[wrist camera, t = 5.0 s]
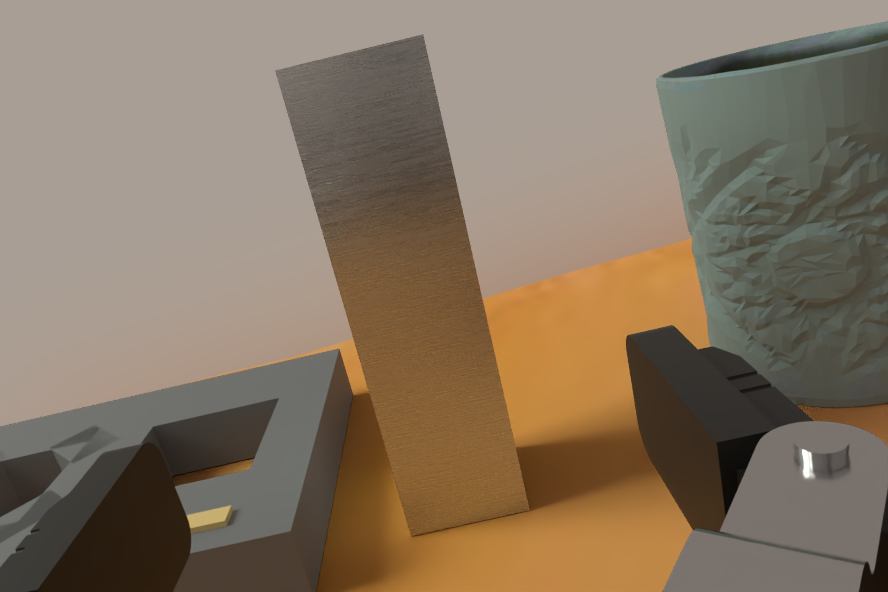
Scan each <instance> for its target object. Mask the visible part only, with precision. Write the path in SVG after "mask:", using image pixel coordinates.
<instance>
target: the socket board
mask: <svg viewBox="0 0 888 592" xmlns="http://www.w3.org/2000/svg"><path fill="white" fill-rule="evenodd" d="M352 397H353V393H352V390H351V386H350V383H349V380H348V376H347V373H346V370H345V366H344V363H343V360H342V356H341V353H340V350H339V349H336V350H331V351H327V352H323V353H318V354H314V355H310V356H305V357H301V358H297V359H292V360H288V361H284V362H279V363H275V364H270V365H266V366H262V367H257V368H253V369H249V370H244V371H240V372H236V373H231V374H227V375H223V376H218V377H214V378H210V379H205V380H201V381H196V382H192V383H188V384H183V385H179V386H175V387H170V388H166V389H162V390H157V391H153V392H149V393H144V394H140V395H135V396H131V397H127V398H122V399H118V400H114V401H109V402H105V403H101V404H96V405H92V406H88V407H83V408H79V409H74V410H71V411H66V412H62V413H57V414H53V415H48V416H44V417H40V418H35V419H31V420H27V421H22V422H18V423H13V424H9V425H5V426H1V427H0V567H1V566H2V564H3V563H4V562H5V561H6V560H7V558H8V557H9V556H10V555H11V554H13V553H16V550H15V549H16V548H17V546H18V545H19V544H20V543H21V542H22V540H23V539H24V538H25V537H26V536H27V535H30V534H31V530H32V528H33V527H34V526H35V525H36V524H37V522H38V521H39V520H40V519H41V518H42V516H43V515H44V514H45V513H46V512H47V510H48V509H49V508H51V507H52V506H53V505H54V504H56V503H57V502H58V501H60V500H61V499H62V498H63V497H65V496H66V495H67V494H69V493H70V492H71V491H72V489H73V488H74V487H75V486H76V484H77V483H78V482H79V481H80V480H81V478H82V477H83V476H84V475H85V473H86V472H87V471H88V470H89V469H90V467H91V466H92V465H93V464H94V462H95V461H96V460H97V459H98V457H99V456H100V455H101V454H102V453H104V452H107V451H111V450H116V449H120V448H125V447H129V446H134V445H138V444H142V443H147V442H150V443H153V444H154V445H155V446H157V448H158V449H159V450H160V452H161V454H162V456H163V458H164V461H165V463H166V466H167V468H168V471H169V473H170V476H171V478H172V477H173V476H174V475H179V474H183V473H188V472H192V471H197V470H201V469H206V468H210V467H214V466H219V465H223V464H228V463H232V462H237V461H241V460H246V459H250V458H254V457H255V458H254V461H253V463H252V466H251V468H250V470H245V471H241V472H236V473H232V474H227V475H223V476H218V477H214V478H209V479H205V480H201V481H196V482H192V483H187V484H183V485H178V486H175V488H176V491H177V493H178V496H179V498H180V501H181V503H182V506H183V508H184V511H185V513H186V516H187V518H188V521H189V525H190V530H191V550H190V555H189V558H188V560H187V563H186V565H185V567H184V569H183V571H182V573H181V576H180V578H179V580H178V582H177V584H176V586H175V589H174V591H173V592H316V589H317V583H318V578H319V573H320V567H321V562H322V557H323V551H324V546H325V541H326V535H327V530H328V525H329V519H330V514H331V509H332V503H333V498H334V493H335V487H336V482H337V477H338V471H339V466H340V461H341V455H342V450H343V445H344V439H345V434H346V429H347V423H348V418H349V413H350V407H351V402H352Z"/></svg>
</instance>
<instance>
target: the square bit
mask: <svg viewBox="0 0 888 592" xmlns="http://www.w3.org/2000/svg"><path fill="white" fill-rule="evenodd" d="M276 75H277V78H278V81H279V85H280V88H281V92H282V95H283V99H284V102H285V106H286V109H287V113H288V116H289V119H290V123H291V126H292V130H293V133H294V136H295V140H296V143H297V147H298V150H299V154H300V157H301V161H302V164H303V167H304V171H305V174H306V178H307V181H308V184H309V188H310V191H311V194H312V198H313V201H314V205H315V209H316V212H317V215H318V218H319V222H320V226H321V229H322V232H323V235H324V239H325V243H326V246H327V249H328V253H329V257H330V260H331V263H332V267H333V270H334V273H335V277H336V281H337V284H338V287H339V291H340V294H341V298H342V301H343V304H344V308H345V311H346V315H347V318H348V321H349V325H350V328H351V332H352V335H353V339H354V342H355V346H356V349H357V353H358V356H359V359H360V363H361V366H362V370H363V373H364V377H365V380H366V383H367V387H368V390H369V394H370V397H371V401H372V404H373V407H374V411H375V414H376V418H377V421H378V425H379V428H380V431H381V435H382V438H383V442H384V445H385V449H386V452H387V455H388V459H389V462H390V466H391V469H392V473H393V476H394V479H395V483H396V486H397V490H398V493H399V497H400V500H401V503H402V507H403V510H404V514H405V517H406V521H407V524H408V527H409V531H410V534H411V536H415V535H419V534H424V533H428V532H433V531H437V530H442V529H447V528H451V527H456V526H460V525H465V524H469V523H474V522H478V521H483V520H488V519H492V518H497V517H501V516H506V515H510V514H515V513H519V512H524V511H528V510H530V509H529V504H528V500H527V496H526V491H525V487H524V482H523V478H522V473H521V469H520V464H519V460H518V455H517V451H516V447H515V442H514V438H513V433H512V429H511V424H510V420H509V415H508V411H507V406H506V402H505V398H504V393H503V389H502V384H501V380H500V375H499V371H498V366H497V362H496V357H495V353H494V348H493V344H492V340H491V335H490V331H489V326H488V322H487V317H486V313H485V308H484V304H483V299H482V295H481V291H480V286H479V282H478V277H477V273H476V268H475V264H474V259H473V255H472V251H471V246H470V242H469V238H468V233H467V228H466V224H465V220H464V215H463V210H462V206H461V201H460V198H459V193H458V188H457V184H456V179H455V175H454V170H453V166H452V162H451V157H450V152H449V148H448V143H447V139H446V135H445V130H444V126H443V121H442V117H441V112H440V108H439V103H438V99H437V95H436V90H435V86H434V81H433V77H432V72H431V68H430V64H429V59H428V54H427V50H426V45H425V41H424V37H423V35H419V36H415V37H411V38H407V39H403V40H399V41H395V42H390V43H386V44H382V45H378V46H374V47H370V48H366V49H362V50H358V51H353V52H350V53H345V54H341V55H337V56H333V57H329V58H325V59H321V60H317V61H312V62H308V63H304V64H300V65H296V66H292V67H288V68H284V69H280V70H276Z"/></svg>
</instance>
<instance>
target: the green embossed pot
mask: <svg viewBox="0 0 888 592" xmlns="http://www.w3.org/2000/svg"><path fill="white" fill-rule="evenodd" d="M656 86H657V91H658V95H659V100H660V104H661V109H662V114H663V118H664V122H665V127H666V132H667V137H668V140H669V146H670V150H671V154H672V157H673V161H674V164H675V168H676V171H677V174H678V179H679V184H680V189H681V196H682V201H683V206H684V211H685V216H686V220H687V226H688V230H689V232H690V234H691V236H692V252H693V254H694V258H695V263H696V268H697V273H698V278H699V282H700V286H701V291H702V296H703V300H704V305H705V309H706V314H707V326H708V336H709V341H710V346H711V347H712V346H714V347H716V348H719V349H722V350H725V351H728V352H730V353H733V354H736V355H739V356H741V357H742V358H743V359H744V360H745V361H746V362H747V363H749V364H750V365H751V366H752V367H753V368H754V369H755V370H757V373H758V374H761V375H762V376H763V377H764V378H766V379H767V380H768V381H769V382H770V383H771V385H772V387H776V388H777V389H778V390H779V391H780V392H781V393H783V394H784V395H785V396H786V397H787V398H788V399H789V400H790V401H792V402H793V403H794V404H796V405H802V404H804V405H807V406H816V407H840V408H843V407H859V406H868V405H876V404H883V403H888V21H887V22H881V23H876V24H871V25H865V26H859V27H854V28H849V29H844V30H838V31H834V32H828V33H824V34H818V35H814V36H809V37H804V38H799V39H795V40H790V41H785V42H781V43H777V44H772V45H767V46H763V47H758V48H753V49H749V50H745V51H741V52H737V53H733V54H729V55H724V56H720V57H716V58H712V59H708V60H704V61H700V62H697V63H694V64H691V65H687V66H684V67H681V68H678V69H675V70H672V71H669V72H667V73H664V74H662V75H660V77H658V78H657V79H656Z"/></svg>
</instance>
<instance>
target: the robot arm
mask: <svg viewBox="0 0 888 592" xmlns="http://www.w3.org/2000/svg"><path fill="white" fill-rule="evenodd" d="M626 350H627V357H628V363H629V369H630V376H631V382H632V388H633V395H634V401H635V407H636V414H637V420H638V425H639V429H640V433H641V437H642V440H643V443H644V446H645V449H646V451H647V453H648V456H649V458H650V459H651V461H652V463H653V464H654V466H655V468H656V469H657V471H658V473H659V474H660V476H661V478H662V479H663V481H664V483H665V484H666V486H667V488H668V489H669V491H670V493H671V494H672V496H673V498H674V499H675V501H676V503H677V504H678V506H679V508H680V509H681V511H682V513H683V514H684V516H685V518H686V519H687V521H688V523H689V524H690V526H691V528H692V529H693V532H692V533H691V534H690V536H689V538H688V539H687V541H686V543H685V546H684V548H683V550H682V552H681V554H680V556H679V558H678V560H677V562H676V564H675V566H674V568H673V571H672V573H671V575H670V577H669V579H668V581H667V583H666V585H665V587H664V589H663V591H662V592H888V446H887V445H886V444H885V443H884V442H883V441H882V440H881V439H880V438H878V437H877V436H875V435H873V434H872V433H870V432H867V431H865V430H863V429H860V428H857V427H854V426H851V425H846V424H842V423H836V422H826V421H813V420H812V419H811V418H810V417H809V416H807V415H806V414H805V413H804V412H803V411H802V410H801V409H800V408H798V407H797V406H796V405H795V404H794V403H793V402H792V401H790V400H789V399H788V398H787V397H786V396H785V395H784V394H783V393H781V392H780V391H779V390H778V389H777V388H776V387H772V385H771V383H770V382H769V381H768V380H767V379H766V378H764V377H763V376H762V375H761V374H758V373H757V370H755V369H754V368H753V367H752V366H751V365H750V364H749V363H747V362H746V361H745V360H744V359H743V358H742V357H741V356H739V355H736V354H733V353H730V352H728V351H725V350H722V349H719V348H716V347H714V346H712V347H708V348H703V349H699V350H698V349H697V348H696V347H695V346H694V345H693V344H692V343H691V342H690V341H689V340H688V339H687V338H686V337H685V336H684V335H683V334H682V333H681V332H680V331H679V330H678V329H677V328H676V327H674V326H672V325H671V326H667V327H662V328H658V329H653V330H649V331H645V332H640V333H636V334H631V335H628V336H627V338H626ZM15 550H16V553H13V554H11V555H10V556H9V557H8V558H7V560H6V561H5V562H4V563H3V564H2V566H1V567H0V592H173V591H174V589H175V586H176V584H177V582H178V580H179V578H180V576H181V573H182V571H183V569H184V567H185V565H186V563H187V560H188V558H189V555H190V550H191V530H190V525H189V521H188V518H187V516H186V513H185V511H184V508H183V506H182V503H181V501H180V498H179V496H178V493H177V491H176V488H175V486H174V483H173V481H172V478H171V476H170V473H169V471H168V468H167V466H166V463H165V461H164V458H163V456H162V454H161V452H160V450H159V449H158V448H157V446H155V445H154V444H153V443H150V442H147V443H142V444H138V445H134V446H129V447H125V448H120V449H116V450H111V451H107V452H104V453H102V454H101V455H100V456H99V457H98V459H97V460H96V461H95V462H94V464H93V465H92V466H91V467H90V469H89V470H88V471H87V472H86V473H85V475H84V476H83V477H82V478H81V480H80V481H79V482H78V483H77V484H76V486H75V487H74V488H73V489H72V491H71V492H70V493H69V494H67V495H66V496H65V497H63V498H62V499H61V500H60V501H58V502H57V503H56V504H54V505H53V506H52V507H51V508H49V509H48V510H47V512H46V513H45V514H44V515H43V516H42V518H41V519H40V520H39V521H38V522H37V524H36V525H35V526H34V527H33V528H32V530H31V534H30V535H27V536H26V537H25V538H24V539H23V540H22V542H21V543H20V544H19V545H18V546H17V548H16V549H15Z"/></svg>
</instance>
